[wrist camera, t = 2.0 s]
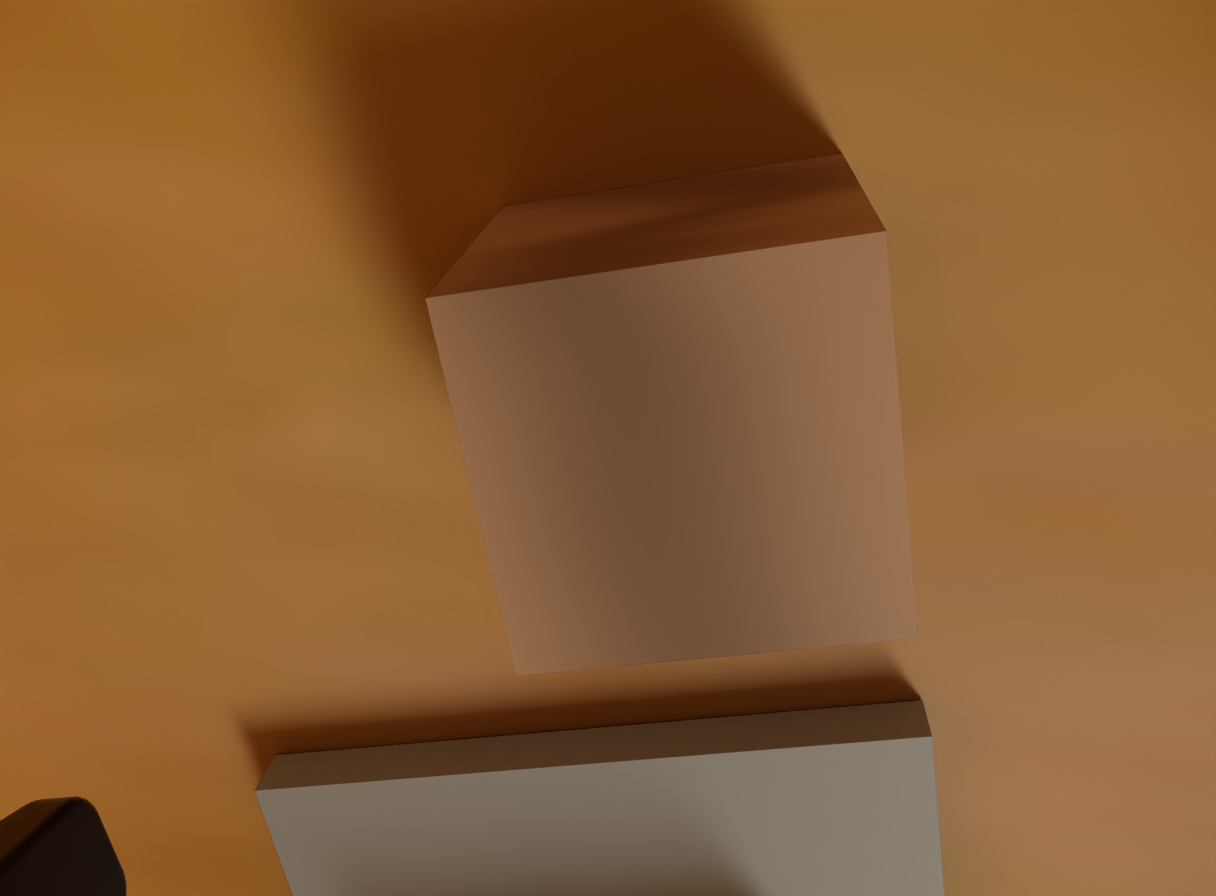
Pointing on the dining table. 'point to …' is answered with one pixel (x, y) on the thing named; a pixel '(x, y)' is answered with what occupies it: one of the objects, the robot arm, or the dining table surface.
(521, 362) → the walnut block
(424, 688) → the dining table surface
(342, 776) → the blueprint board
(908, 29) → the dining table surface
